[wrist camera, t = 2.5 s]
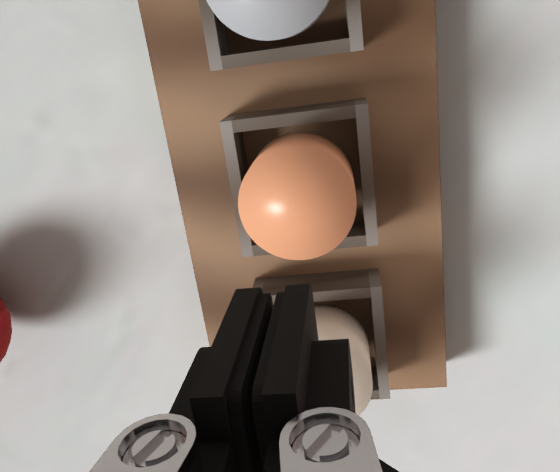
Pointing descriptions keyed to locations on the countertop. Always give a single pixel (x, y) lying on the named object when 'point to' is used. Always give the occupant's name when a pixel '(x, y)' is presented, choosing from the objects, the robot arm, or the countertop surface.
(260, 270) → the button board
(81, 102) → the countertop surface
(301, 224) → the terracotta button
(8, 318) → the red fruit
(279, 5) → the grey button
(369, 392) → the cream button
